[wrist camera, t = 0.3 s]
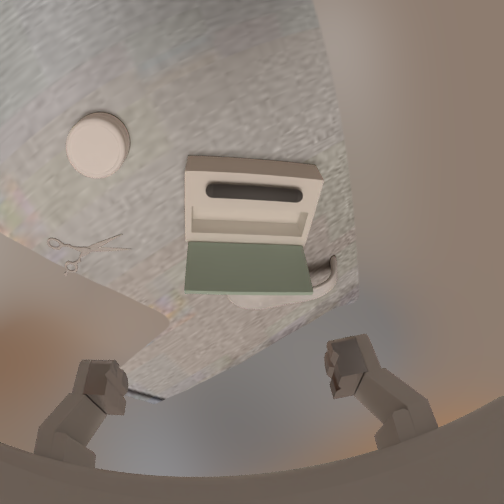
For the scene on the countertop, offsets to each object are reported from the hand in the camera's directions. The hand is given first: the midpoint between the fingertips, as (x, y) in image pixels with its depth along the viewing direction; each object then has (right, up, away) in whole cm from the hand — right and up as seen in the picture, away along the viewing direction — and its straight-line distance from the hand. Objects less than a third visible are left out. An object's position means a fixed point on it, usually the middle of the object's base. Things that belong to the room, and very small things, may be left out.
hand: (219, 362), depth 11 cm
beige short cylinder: (-22, +21, +30) cm, 43 cm away
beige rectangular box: (0, +13, +40) cm, 42 cm away
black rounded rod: (+2, +13, +33) cm, 35 cm away
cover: (+1, +2, +36) cm, 36 cm away
